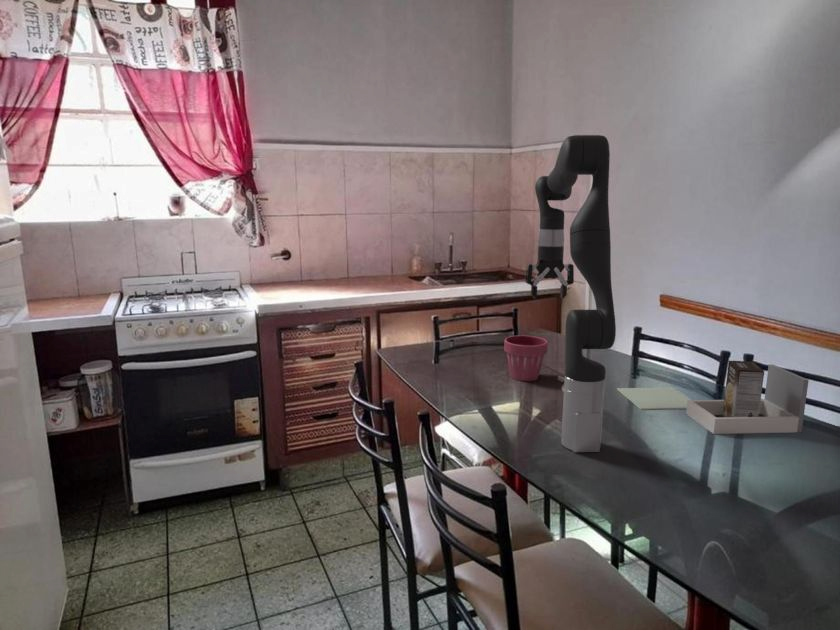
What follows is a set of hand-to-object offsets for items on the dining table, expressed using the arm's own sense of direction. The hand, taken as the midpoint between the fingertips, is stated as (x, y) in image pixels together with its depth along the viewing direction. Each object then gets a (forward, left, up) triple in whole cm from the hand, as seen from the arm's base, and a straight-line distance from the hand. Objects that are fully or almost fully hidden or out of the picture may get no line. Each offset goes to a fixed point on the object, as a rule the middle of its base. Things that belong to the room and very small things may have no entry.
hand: (548, 298), depth 179 cm
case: (-31, -45, -29) cm, 61 cm away
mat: (-11, -32, -29) cm, 44 cm away
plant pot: (+12, +3, -29) cm, 32 cm away
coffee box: (-31, -45, -29) cm, 61 cm away
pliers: (+2, -10, -29) cm, 31 cm away
